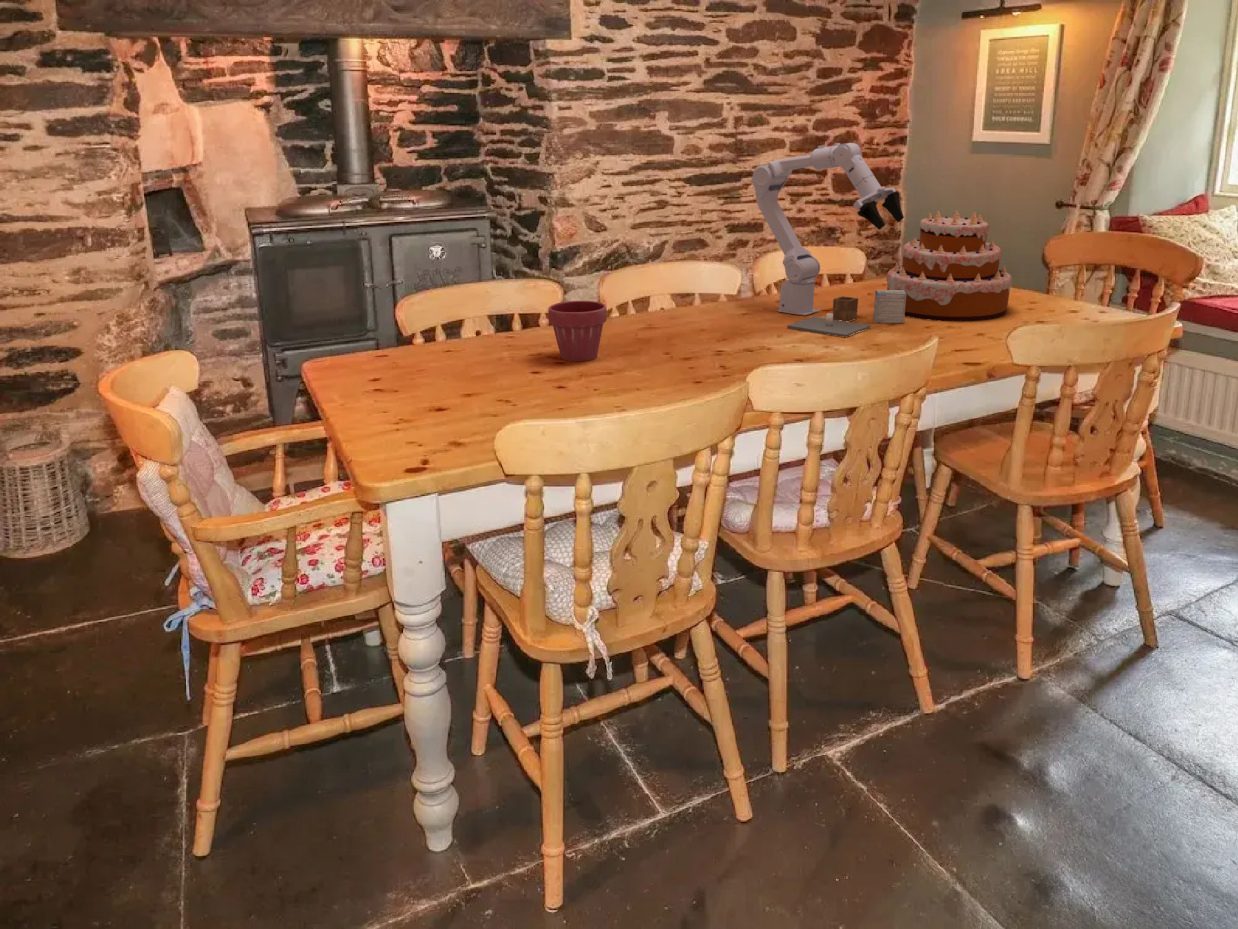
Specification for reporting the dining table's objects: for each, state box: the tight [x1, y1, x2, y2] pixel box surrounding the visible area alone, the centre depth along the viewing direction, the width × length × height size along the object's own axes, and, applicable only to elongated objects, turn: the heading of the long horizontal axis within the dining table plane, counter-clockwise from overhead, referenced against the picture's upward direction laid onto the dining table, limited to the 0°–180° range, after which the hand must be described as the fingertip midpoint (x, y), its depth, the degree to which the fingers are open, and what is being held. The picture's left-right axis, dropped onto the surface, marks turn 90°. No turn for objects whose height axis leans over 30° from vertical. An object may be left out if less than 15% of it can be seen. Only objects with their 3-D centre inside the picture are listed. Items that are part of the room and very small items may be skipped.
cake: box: [886, 210, 1013, 322], centre depth 292 cm, size 35×35×28 cm
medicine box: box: [873, 289, 906, 324], centre depth 280 cm, size 8×4×9 cm, turn 84°
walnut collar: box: [832, 295, 859, 322], centre depth 284 cm, size 5×5×6 cm
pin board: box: [786, 312, 872, 338], centre depth 275 cm, size 18×14×4 cm
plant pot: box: [547, 300, 608, 362], centre depth 248 cm, size 14×14×13 cm
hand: (891, 223), depth 268 cm, fingers open, 7 cm apart
